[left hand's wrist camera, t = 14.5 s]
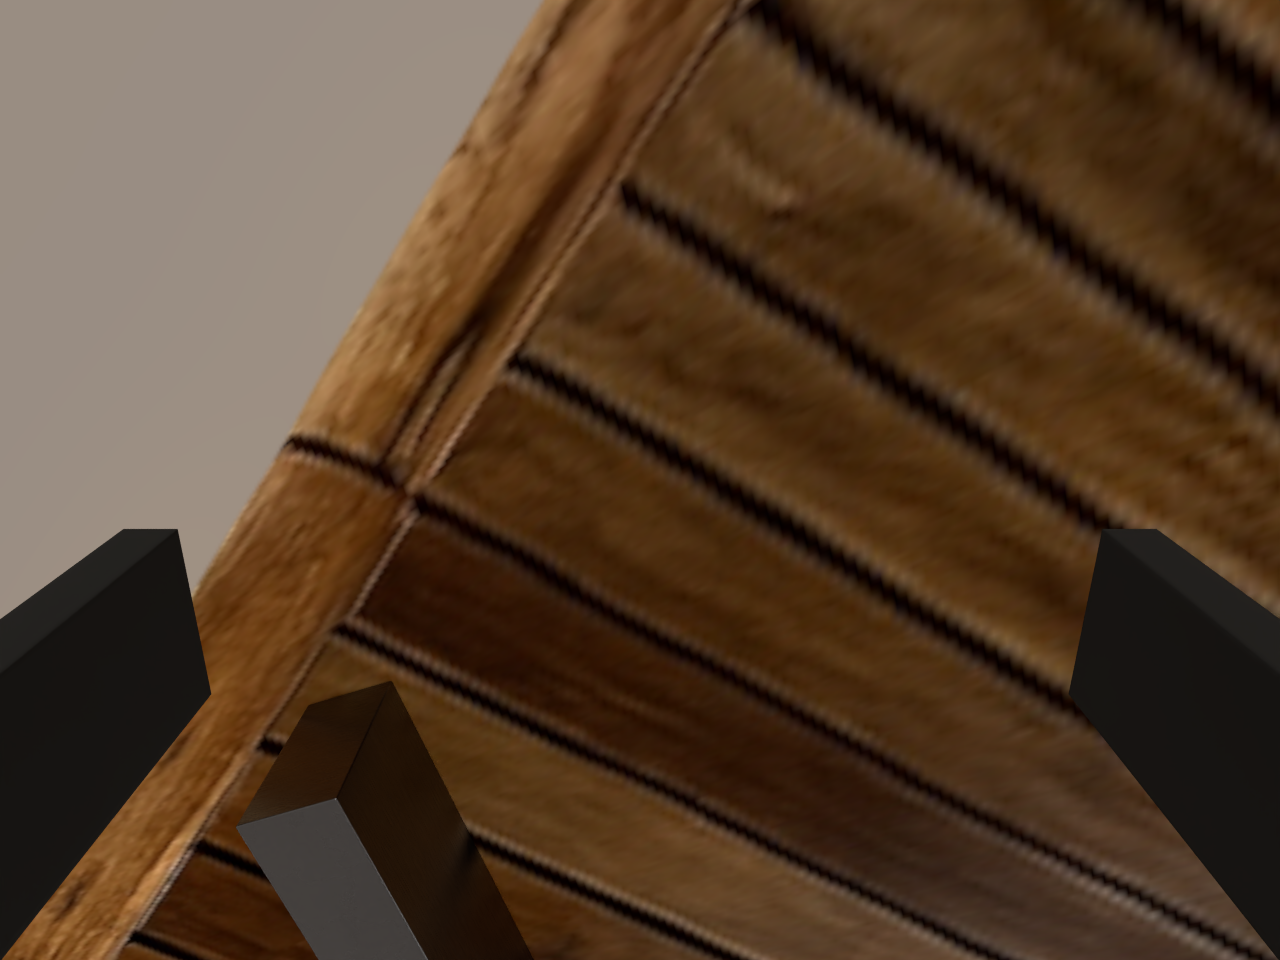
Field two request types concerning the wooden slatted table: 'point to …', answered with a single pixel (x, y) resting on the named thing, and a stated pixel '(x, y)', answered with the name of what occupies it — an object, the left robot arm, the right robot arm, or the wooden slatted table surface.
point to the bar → (373, 841)
